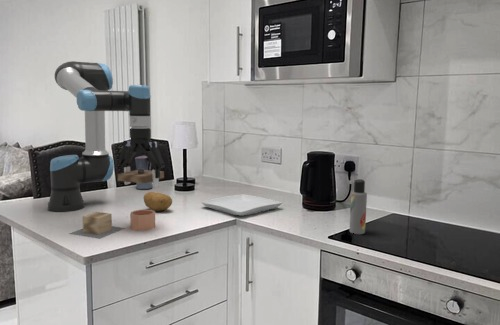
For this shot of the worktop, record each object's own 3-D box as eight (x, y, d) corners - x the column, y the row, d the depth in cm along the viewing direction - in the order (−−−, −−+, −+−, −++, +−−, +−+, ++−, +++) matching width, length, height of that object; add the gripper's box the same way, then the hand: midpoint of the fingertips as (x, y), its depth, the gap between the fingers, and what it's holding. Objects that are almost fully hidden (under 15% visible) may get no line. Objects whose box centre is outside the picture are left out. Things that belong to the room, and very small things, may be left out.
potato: (163, 215, 180) (163, 196, 179) (138, 210, 187) (138, 193, 186) (177, 210, 189) (177, 192, 188) (153, 206, 196) (153, 189, 195)
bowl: (125, 229, 159) (125, 214, 158) (140, 223, 167) (140, 208, 166) (146, 232, 156) (145, 216, 155) (159, 226, 164) (159, 211, 163)
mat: (68, 234, 152) (68, 233, 152) (96, 224, 165) (96, 223, 165) (99, 239, 147) (99, 238, 147) (125, 229, 159) (125, 228, 159)
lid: (117, 180, 155) (117, 170, 155) (138, 175, 166) (137, 165, 166) (145, 183, 151) (144, 172, 150) (164, 178, 162) (163, 167, 161)
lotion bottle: (367, 232, 159) (370, 179, 157) (360, 235, 155) (363, 181, 153) (353, 229, 163) (356, 178, 161) (346, 232, 159) (348, 179, 156)
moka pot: (146, 185, 246) (146, 151, 243) (159, 189, 234) (158, 153, 231) (131, 187, 240) (130, 152, 237) (143, 191, 228) (142, 154, 225)
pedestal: (83, 232, 154) (82, 216, 153) (96, 227, 160) (96, 211, 159) (98, 234, 151) (98, 218, 150) (111, 229, 157) (111, 213, 157)
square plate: (283, 209, 194) (283, 201, 193) (239, 220, 175) (240, 211, 174) (242, 200, 213) (242, 192, 212) (199, 208, 194) (199, 200, 193)
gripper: (106, 127, 157) (108, 184, 160) (162, 129, 148) (163, 189, 151) (120, 126, 164) (121, 181, 167) (173, 128, 155) (174, 186, 158)
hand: (141, 185), depth 159 cm, fingers closed on lid, 12 cm apart
